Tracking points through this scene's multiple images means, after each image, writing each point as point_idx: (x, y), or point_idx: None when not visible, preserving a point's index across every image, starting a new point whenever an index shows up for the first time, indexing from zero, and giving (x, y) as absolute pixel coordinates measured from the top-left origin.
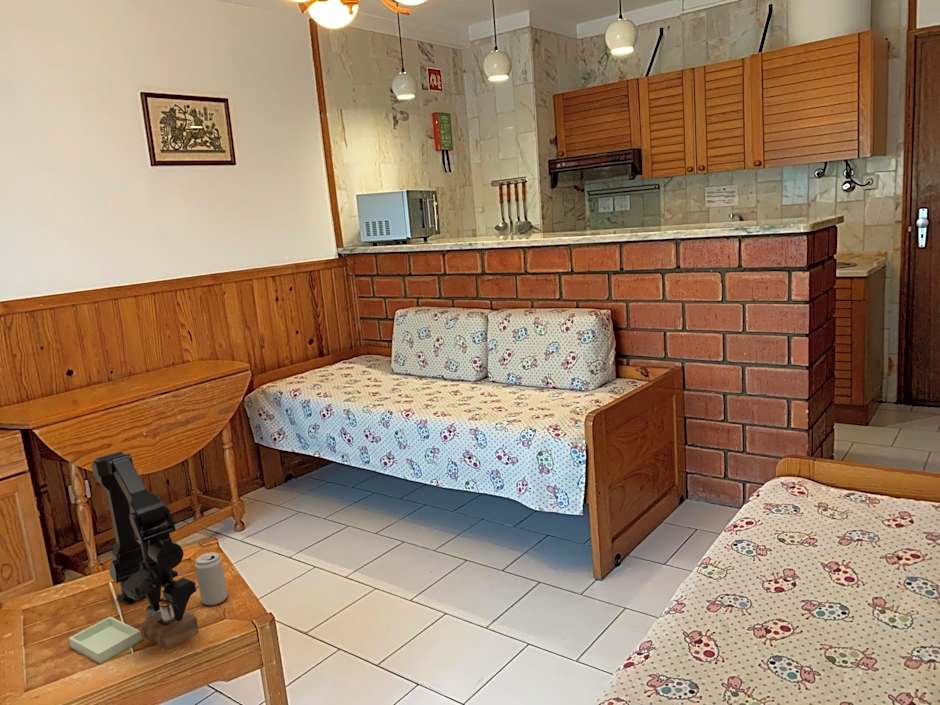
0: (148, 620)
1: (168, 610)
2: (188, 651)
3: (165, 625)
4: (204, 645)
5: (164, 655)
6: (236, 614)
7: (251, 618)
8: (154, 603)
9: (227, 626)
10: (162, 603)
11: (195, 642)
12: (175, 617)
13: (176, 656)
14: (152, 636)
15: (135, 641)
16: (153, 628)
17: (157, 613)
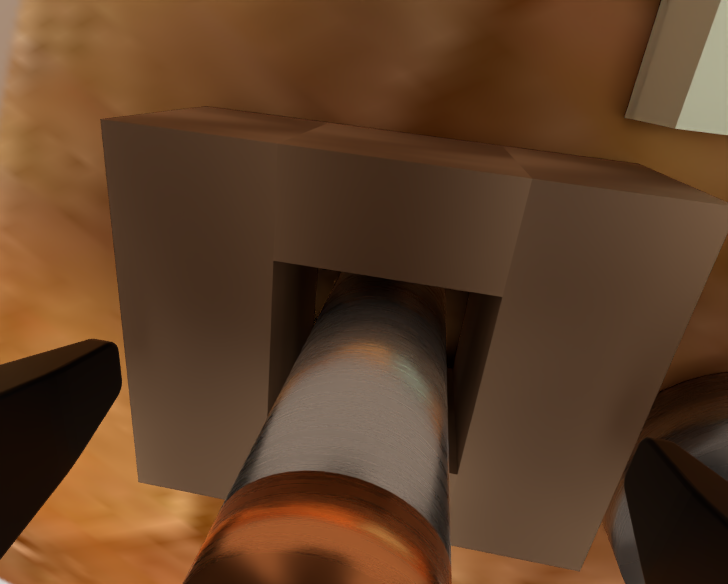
0: (648, 281)
1: (249, 454)
2: (32, 158)
3: (359, 294)
4: (9, 266)
5: (158, 15)
6: (169, 574)
7: (52, 558)
8: (707, 558)
9: (96, 474)
10: (233, 561)
11: (105, 273)
12: (61, 363)
13: (46, 56)
14: (466, 149)
15: (662, 31)
16: (398, 159)
17: (724, 462)
